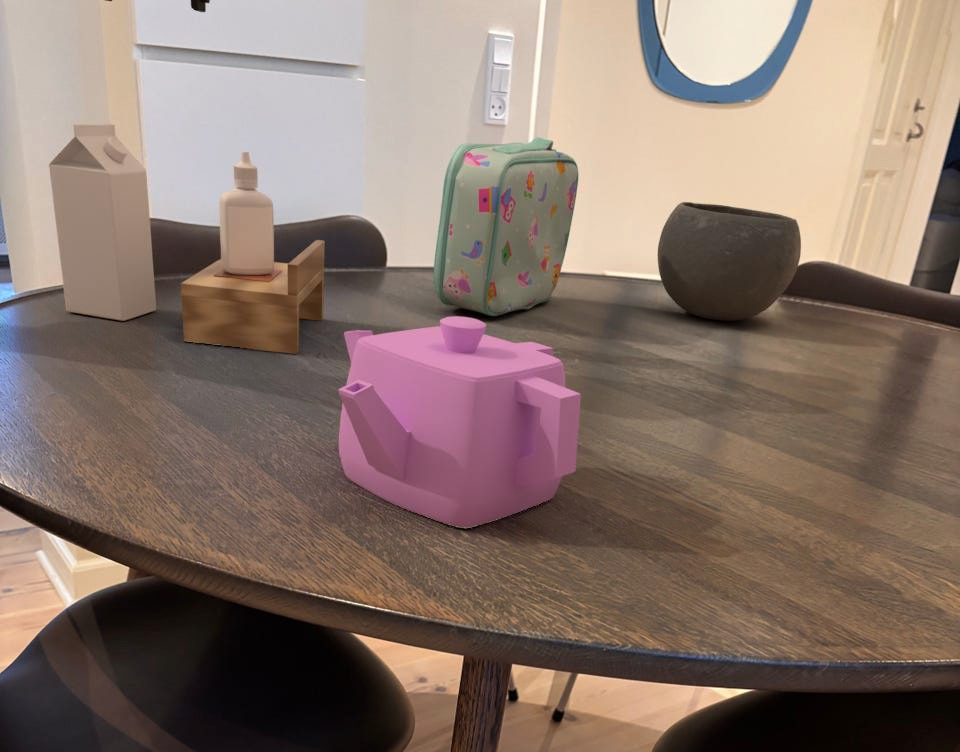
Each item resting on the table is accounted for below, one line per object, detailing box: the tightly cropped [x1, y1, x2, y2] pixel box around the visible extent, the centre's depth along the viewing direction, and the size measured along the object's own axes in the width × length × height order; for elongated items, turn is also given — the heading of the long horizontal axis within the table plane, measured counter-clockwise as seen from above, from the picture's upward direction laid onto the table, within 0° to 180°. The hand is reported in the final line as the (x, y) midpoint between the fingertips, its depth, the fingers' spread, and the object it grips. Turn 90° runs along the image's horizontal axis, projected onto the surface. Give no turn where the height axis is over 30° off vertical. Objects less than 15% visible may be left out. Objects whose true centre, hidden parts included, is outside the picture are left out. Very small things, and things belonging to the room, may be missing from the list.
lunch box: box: [433, 136, 579, 317], centre depth 128 cm, size 27×10×21 cm, turn 154°
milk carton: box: [48, 124, 157, 322], centre depth 102 cm, size 7×7×19 cm
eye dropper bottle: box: [218, 151, 275, 275], centre depth 101 cm, size 4×6×12 cm
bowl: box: [657, 201, 802, 322], centre depth 138 cm, size 20×20×15 cm
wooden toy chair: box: [180, 239, 325, 355], centre depth 105 cm, size 12×18×9 cm, turn 179°
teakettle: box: [338, 315, 582, 527], centre depth 68 cm, size 17×17×12 cm
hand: (152, 5), depth 97 cm, fingers open, 9 cm apart
